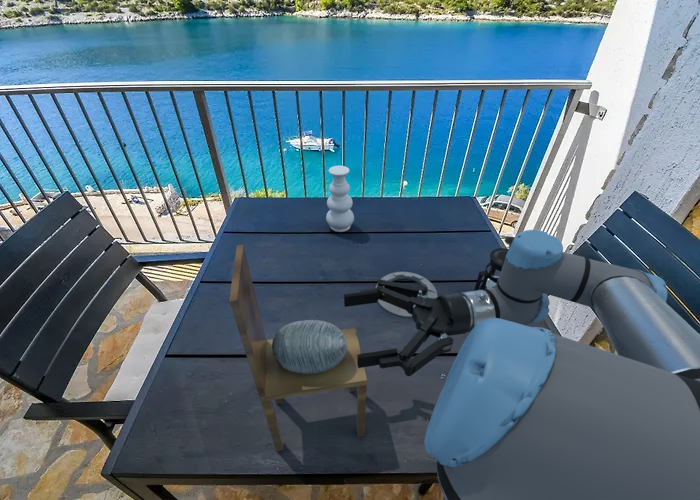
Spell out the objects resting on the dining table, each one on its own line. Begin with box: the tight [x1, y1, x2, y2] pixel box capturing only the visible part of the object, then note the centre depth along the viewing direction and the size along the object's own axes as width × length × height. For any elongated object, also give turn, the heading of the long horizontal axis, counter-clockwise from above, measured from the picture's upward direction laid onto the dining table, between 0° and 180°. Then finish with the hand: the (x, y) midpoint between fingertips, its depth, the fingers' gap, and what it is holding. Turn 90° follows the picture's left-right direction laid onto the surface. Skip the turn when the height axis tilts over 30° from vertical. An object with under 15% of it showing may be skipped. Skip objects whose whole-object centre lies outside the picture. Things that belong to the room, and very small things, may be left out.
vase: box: [325, 165, 355, 233], centre depth 131 cm, size 11×11×25 cm
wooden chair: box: [228, 244, 368, 452], centre depth 65 cm, size 12×19×46 cm, turn 100°
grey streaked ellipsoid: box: [272, 319, 347, 374], centre depth 64 cm, size 14×10×10 cm
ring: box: [375, 271, 438, 319], centre depth 109 cm, size 19×19×2 cm
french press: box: [473, 236, 515, 291], centre depth 100 cm, size 12×9×23 cm
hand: (350, 328), depth 62 cm, fingers open, 13 cm apart
